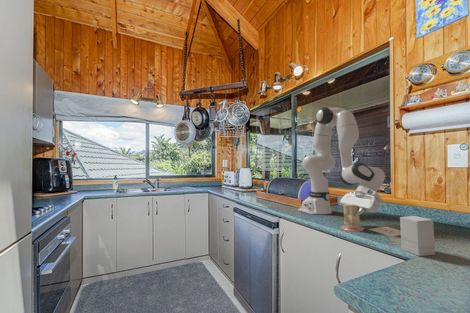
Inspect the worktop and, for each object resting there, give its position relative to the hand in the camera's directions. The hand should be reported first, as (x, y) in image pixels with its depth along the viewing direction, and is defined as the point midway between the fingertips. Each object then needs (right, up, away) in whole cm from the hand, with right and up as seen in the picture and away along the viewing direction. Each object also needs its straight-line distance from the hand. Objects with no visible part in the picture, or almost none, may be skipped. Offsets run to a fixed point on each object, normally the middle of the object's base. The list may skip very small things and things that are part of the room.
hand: (350, 214), depth 117 cm
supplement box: (+10, -7, -30) cm, 33 cm away
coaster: (+1, -7, 0) cm, 7 cm away
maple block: (+1, -5, 0) cm, 5 cm away
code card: (+16, -7, -5) cm, 18 cm away
